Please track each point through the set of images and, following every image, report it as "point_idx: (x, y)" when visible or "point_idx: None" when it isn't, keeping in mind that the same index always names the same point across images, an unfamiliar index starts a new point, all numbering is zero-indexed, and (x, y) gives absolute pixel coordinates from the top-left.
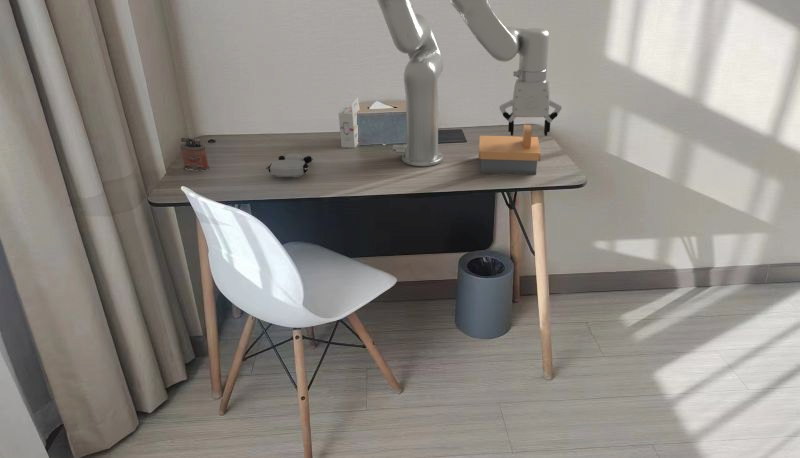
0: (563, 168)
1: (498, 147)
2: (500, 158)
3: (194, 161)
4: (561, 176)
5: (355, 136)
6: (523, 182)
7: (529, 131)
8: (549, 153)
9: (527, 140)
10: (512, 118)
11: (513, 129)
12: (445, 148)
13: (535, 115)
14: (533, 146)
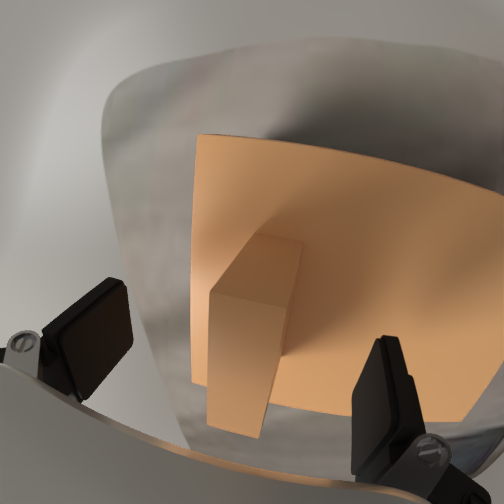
0: (136, 208)
1: (461, 271)
2: (454, 178)
3: None
4: (152, 127)
5: None
6: (327, 60)
7: (231, 304)
8: (175, 346)
9: (267, 259)
10: (411, 473)
11: (385, 371)
12: (493, 406)
13: (72, 424)
14: (227, 262)
